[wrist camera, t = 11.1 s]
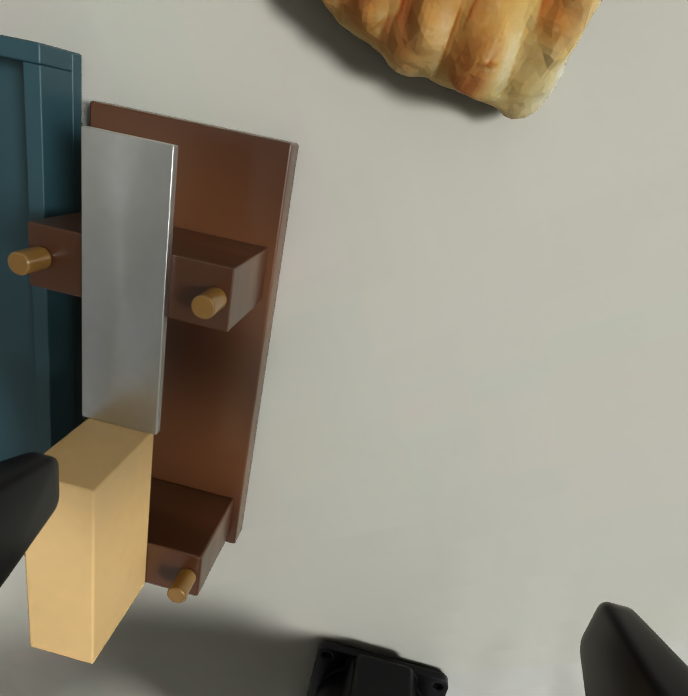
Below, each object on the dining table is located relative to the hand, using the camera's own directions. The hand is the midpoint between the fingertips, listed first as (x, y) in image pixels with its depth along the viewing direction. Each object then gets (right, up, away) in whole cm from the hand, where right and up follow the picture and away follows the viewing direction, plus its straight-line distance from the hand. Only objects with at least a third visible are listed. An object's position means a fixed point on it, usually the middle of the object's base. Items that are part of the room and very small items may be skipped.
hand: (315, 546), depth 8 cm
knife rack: (-6, +3, +13) cm, 14 cm away
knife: (-7, +2, +9) cm, 11 cm away
